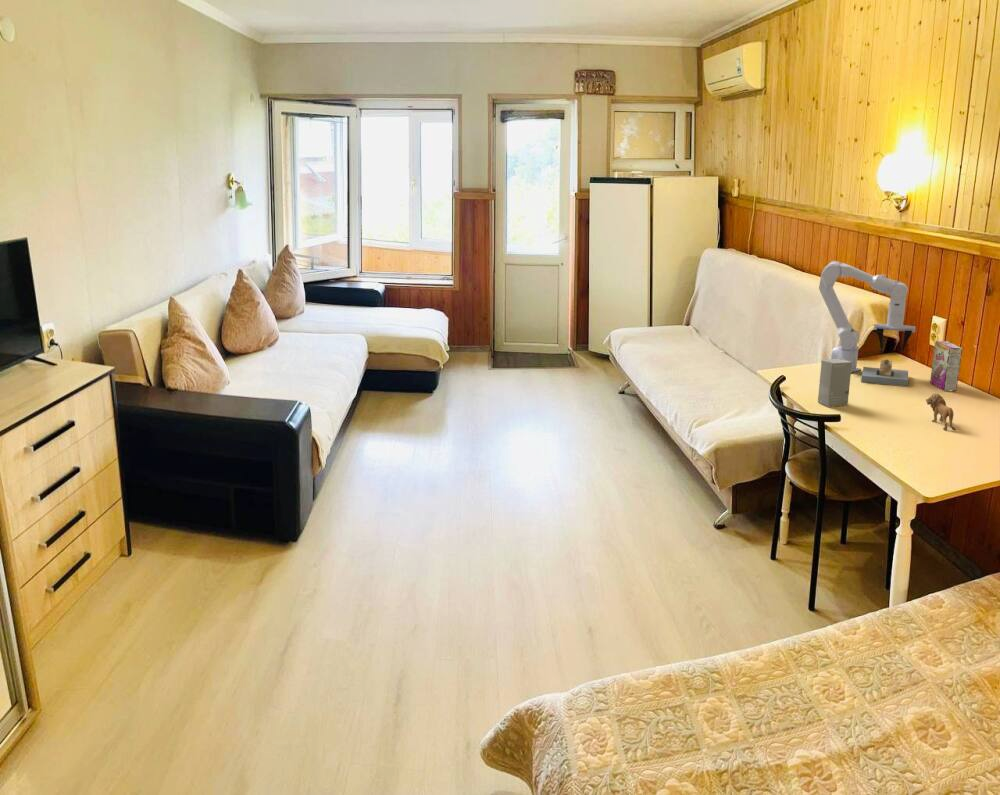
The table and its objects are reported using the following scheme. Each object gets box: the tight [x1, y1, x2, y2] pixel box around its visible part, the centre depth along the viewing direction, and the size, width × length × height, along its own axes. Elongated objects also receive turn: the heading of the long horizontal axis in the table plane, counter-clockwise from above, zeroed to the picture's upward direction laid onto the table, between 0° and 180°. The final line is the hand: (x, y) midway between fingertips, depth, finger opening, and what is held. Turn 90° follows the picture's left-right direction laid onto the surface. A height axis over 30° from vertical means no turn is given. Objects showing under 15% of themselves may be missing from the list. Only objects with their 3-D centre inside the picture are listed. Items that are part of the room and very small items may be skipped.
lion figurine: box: [925, 392, 956, 431], centre depth 269 cm, size 15×5×9 cm, turn 5°
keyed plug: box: [879, 359, 893, 376], centre depth 320 cm, size 4×6×7 cm, turn 155°
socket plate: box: [860, 366, 909, 387], centre depth 321 cm, size 16×14×2 cm
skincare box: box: [817, 358, 852, 408], centre depth 292 cm, size 8×7×16 cm
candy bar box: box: [929, 340, 963, 392], centre depth 308 cm, size 11×5×16 cm, turn 179°
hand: (891, 348), depth 325 cm, fingers open, 7 cm apart
